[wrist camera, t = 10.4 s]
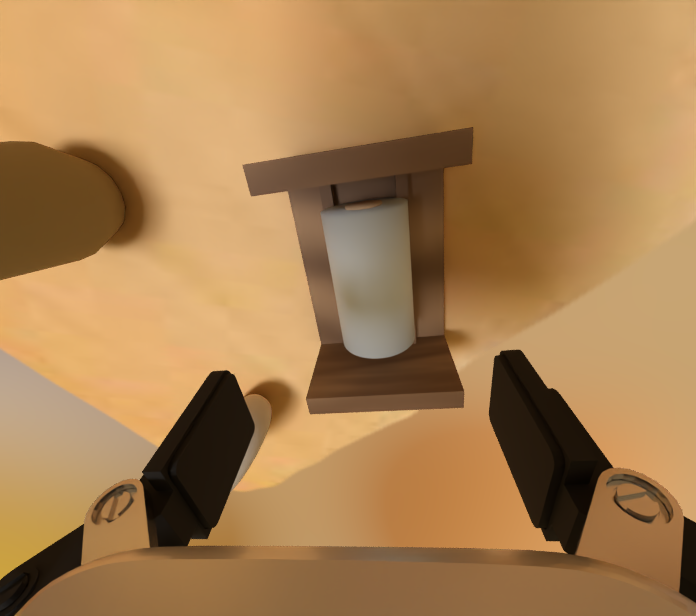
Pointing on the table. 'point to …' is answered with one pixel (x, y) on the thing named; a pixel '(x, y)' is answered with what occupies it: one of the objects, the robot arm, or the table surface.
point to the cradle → (426, 266)
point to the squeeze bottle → (52, 208)
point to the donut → (262, 419)
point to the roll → (372, 274)
